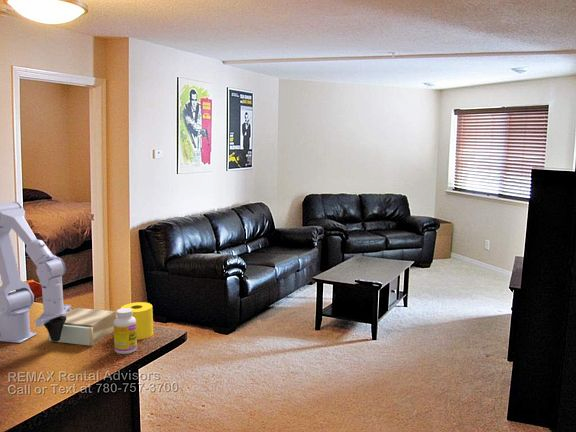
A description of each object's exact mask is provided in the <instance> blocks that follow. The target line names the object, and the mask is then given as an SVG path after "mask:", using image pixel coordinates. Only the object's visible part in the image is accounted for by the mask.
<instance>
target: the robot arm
mask: <svg viewBox="0 0 576 432" xmlns="http://www.w3.org/2000/svg"><path fill="white" fill-rule="evenodd" d="M12 230H13V231H14V233H16V235H17V236H18V237H19V239H20V240H21V241H22V242H23V243H24V245H25V252H26V254H27V256H28V257H29V258H30V259H31V261H32V262H33V264H34V265H35V266H36V270H35V273H36V275H37V277H38V280H39V284H40V286H41V291H42V293H41V294H42V295H41V296H42V306H43V308H42V309H43V313H41V315H39V317H38V318H36V319H35V326H36V327H45V328H46V330H47V332H48V336H49V335H50V338H51V340H52V341H51V342H54V341H56V342H57V341H59V340H60V337H61V332H62V328H63V325H64V323H65V321H66V316H65V315H66V314H67V312H69V311H71V310H72V305H71V304H64V292H63V291H64V290H63V276H64V275H65V273H66V265H65V262H64V260H63V259H62V258H61V257H59V256H57V255H55V254H53V253H52V251H51V250H50V248H49V247H48V246H47V244H46V243H45V242H44V240H42V239H38V238H37V237H36V235H35V234H34V232H33V230H32V228H31V227H30V225H29V223H28V222H27V220H26V211H25V209H24V208H23V205H22V204H21V203H20V202H19V201H12V202H11V201H10V202H6V203H5V202H4V203H0V279H1V283H2V284H1V286H0V342H7V343H17V344H21V343H23V342H25V341H26V340H28V339H31V338H32V337H34V336H36V335H37V332H34V331H33V332H32V331H31V324H30V310H32V306H33V305H34V302H35V295H34V293H33V292H32V290H31V287H30V285H29V284H30V283H27V282H26V281H23V280H22V279H21V275H20V272H19V268H18V264H17V261H16V256H15V252H14V247H13V244H12V240H11V235H10V232H11V231H12ZM56 342H55V343H56ZM57 343H58V342H57Z"/></svg>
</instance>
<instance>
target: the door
mask: <svg viewBox="0 0 576 432" xmlns="http://www.w3.org/2000/svg"><path fill="white" fill-rule="evenodd" d="M48 340H49V342H55V343H56V341H52V340H51V338H50V335H49V334H48ZM57 343H62V344H66V343H67V344H74V345H82V346H83V345H84V346H90V347H93V346H94V345H95V344H94V339H93V327H83V326H73V325H63V328H62V332H61V337H60V340H59V341H57Z"/></svg>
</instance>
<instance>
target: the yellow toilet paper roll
mask: <svg viewBox="0 0 576 432" xmlns="http://www.w3.org/2000/svg"><path fill="white" fill-rule="evenodd" d="M121 308H131V309H132V311H133V314H132V316H133V317H134V318H135V319H136V331H137V341H140V340H146V339H149V338H150V337H152V336H153V335H154V318H153V317H154V314H153V311H154V309H153V305H152V304H151V303H150V302H145V301H144V302H143V301H142V302H140V301H138V302H131V303H127V304H124V305H122V306H121V307H120V309H121Z"/></svg>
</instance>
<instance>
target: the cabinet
mask: <svg viewBox="0 0 576 432" xmlns="http://www.w3.org/2000/svg"><path fill="white" fill-rule="evenodd" d="M116 311H117V310H116ZM116 311H115V310H103V309H94V308H93V309H92V308H82V307H75V308H73V309H71V311H69V312H68V311H67V314H66V315H65V316H66V321H65V323H64V325H73V326H83V327H93V339H94V345H95V343H96V344H98V343H99V342H100V341H102V340H103V339H105V338H107V337H108V336H109V335H111V334H112V333H114V320H115V319H116V318H117V315H116ZM107 335H108V336H107ZM104 337H105V338H104ZM101 339H102V340H101ZM98 341H99V342H98Z"/></svg>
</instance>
